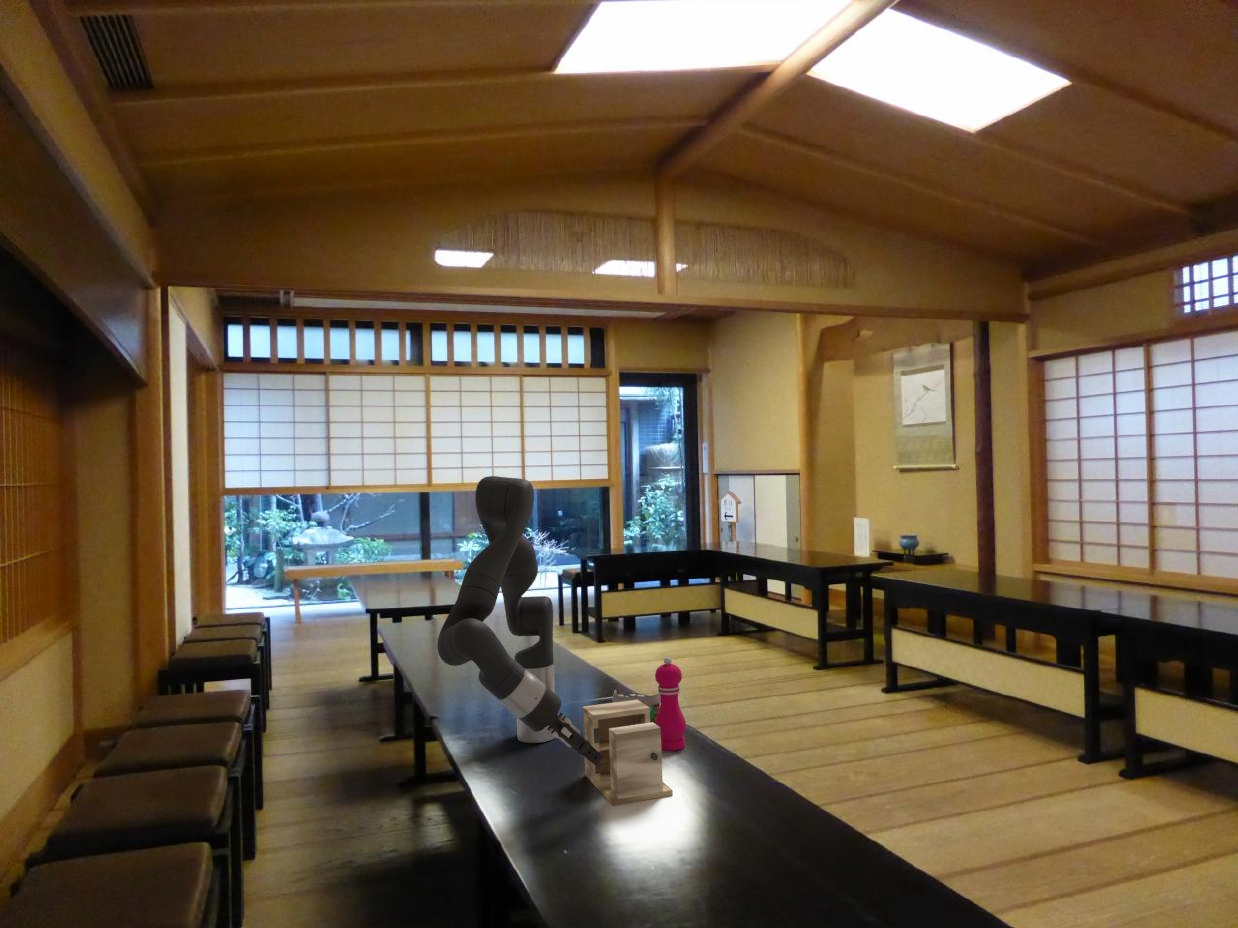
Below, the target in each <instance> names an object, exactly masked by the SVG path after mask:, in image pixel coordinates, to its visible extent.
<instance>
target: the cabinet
mask: <svg viewBox="0 0 1238 928" xmlns="http://www.w3.org/2000/svg"><path fill="white" fill-rule="evenodd" d="M582 721H583V722H582V723H583V724H582V725H583V727H582V728H583V729H582V730H583V738H584V739H585V740H588V741H589V743H590V745H591V746H592V747H594V748H595V749H596V750H597V751H598V752H599V753H600V754H602V756H603V758H602V759H601V761H600V762H599V763H598V764H597V765H594V764H593V763H591V762H590V761H589V760H588V759H587V758H586V757H585V756H583V757H584V776H585V777H586V778H587V779H588V780H589V781H590V783H592V784H593V786H594V787H595V788H596V789H597V790H598V791H599V792H600V793H601V794H602V795H603V797H604V798H605V799H606V801H608V802H609V803H610V804H611V805H612V806H613V807H614V806H620V805H625V804H631V803H637V802H642V801H648V800H653V799H659V798H660V799H661V798H665V797H666V798H667V797H670V796H673V789H672V788H671V787H670V786H668V785H667V784H666V783H665V782H664V781H663V792H657V793H651V794H646V795H640V796H634V797H629V798H623V799H618V798H617V797H616V796H615V795H614V794H613V793H612V792H611V773H610V746H609V728H616V727H623V726H630V725H637V724H644V723H650V708H649V707H648V706H646V705H645V704H643V703H642V702H640V701H639V700H629V701H622V702H614V703H613V702H608V703H600V704H593V705H587V706H585V705H584V706H582Z"/></svg>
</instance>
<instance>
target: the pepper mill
mask: <svg viewBox="0 0 1238 928" xmlns="http://www.w3.org/2000/svg"><path fill="white" fill-rule="evenodd" d="M672 662H673V660H672V658H671V657H670V656H667V657H665V658H664V659H663V663H664V664H663V663H662V664H661V665H659V666H658V667H657V668H656V670H655V673H654V675H655V676H654V678H655V681H656V682H657V684H658V686H657V689H658V691H657V692H658V693H660V698H661V703H660V709H659V712H658V714H657V717H656V720H655V724H656V725H657V726H659V727H660V728H661V751H665V752H667V751H668V752H669V751H670V752H672V751H673V752H674V751H680V750H682V749H684V748H685V747H686V739H685V738H686V737H684V734H685V733H686V731H687V722H686V721H687V720H686V719H685V715H684V714H683V712H682V710H681V707H680V704H679V703H680V702H679V694H680V693H681V689H680V688H681V685H680V682H681V681H682V678H683V674H682V671H681V669H680V667H679V666H678V665H676V664H673V663H672ZM658 693H657V694H658Z"/></svg>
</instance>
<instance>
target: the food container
mask: <svg viewBox="0 0 1238 928" xmlns="http://www.w3.org/2000/svg"><path fill="white" fill-rule="evenodd" d="M613 692H614V693H613V695H612V703H614V702H622V701H629V700H639V701H640V702H642V703H643V704H645V705H646V706H648V707H649V708H650V723H651V722H653V723H654V724H655V720H656V717H657V714H658V712H659V709H660V704H661V698H660V693H655V694H653V695H652V694H651V695H648V694H644V693H638V692H637V693H636V692H635V693H618V692H617V689H615V690H614V691H613Z"/></svg>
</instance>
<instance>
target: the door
mask: <svg viewBox="0 0 1238 928" xmlns="http://www.w3.org/2000/svg"><path fill="white" fill-rule="evenodd" d="M609 746H610V773H611V792H612V793H613V794H614V795H615V796H616V797H617V798H618V799H623V798H629V797H634V796H640V795H646V794H651V793H657V792H663V782H664V781H663V760H662V759H663V758H662V757H663V755H662V750H661V728H660V727H659V726H657V725H656V724H654V723H653V722H651V723H644V724H637V725H630V726H623V727H616V728H609Z"/></svg>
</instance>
